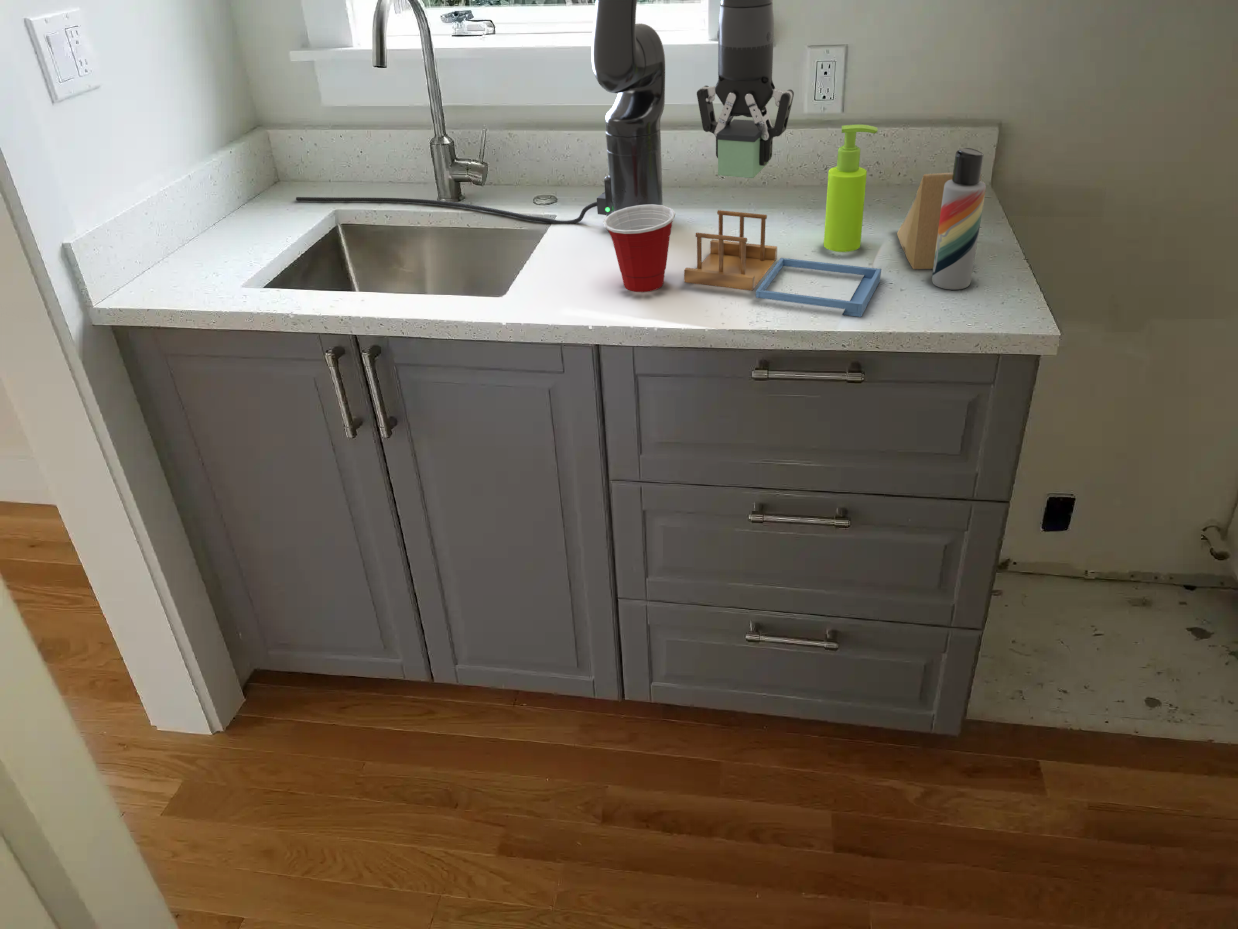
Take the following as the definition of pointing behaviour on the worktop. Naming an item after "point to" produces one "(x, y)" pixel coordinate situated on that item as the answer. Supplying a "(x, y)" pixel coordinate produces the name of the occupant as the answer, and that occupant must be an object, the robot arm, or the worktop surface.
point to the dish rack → (732, 257)
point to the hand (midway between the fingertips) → (743, 162)
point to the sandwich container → (923, 221)
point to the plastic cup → (641, 244)
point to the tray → (851, 307)
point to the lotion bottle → (959, 222)
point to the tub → (739, 149)
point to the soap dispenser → (846, 195)
